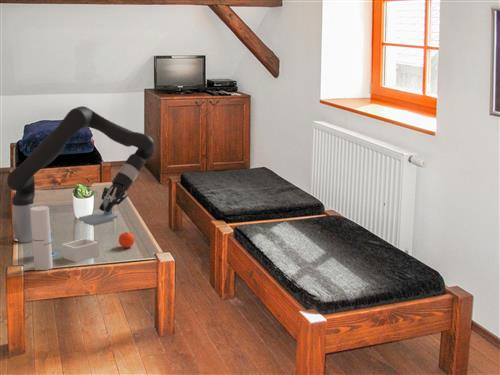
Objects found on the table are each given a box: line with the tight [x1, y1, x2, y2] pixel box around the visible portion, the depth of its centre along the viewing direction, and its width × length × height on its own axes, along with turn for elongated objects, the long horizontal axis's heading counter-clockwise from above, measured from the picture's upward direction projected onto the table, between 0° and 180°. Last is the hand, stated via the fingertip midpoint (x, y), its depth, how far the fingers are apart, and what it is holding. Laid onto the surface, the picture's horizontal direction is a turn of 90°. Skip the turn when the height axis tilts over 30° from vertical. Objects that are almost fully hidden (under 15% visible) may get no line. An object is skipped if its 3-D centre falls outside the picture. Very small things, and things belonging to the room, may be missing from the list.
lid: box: [78, 198, 118, 227], centre depth 307 cm, size 12×9×8 cm
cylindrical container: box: [30, 205, 54, 271], centre depth 302 cm, size 7×7×25 cm
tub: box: [62, 237, 100, 263], centre depth 319 cm, size 12×9×6 cm
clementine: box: [118, 231, 135, 249], centre depth 333 cm, size 8×7×7 cm
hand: (103, 210), depth 309 cm, fingers closed on lid, 3 cm apart
